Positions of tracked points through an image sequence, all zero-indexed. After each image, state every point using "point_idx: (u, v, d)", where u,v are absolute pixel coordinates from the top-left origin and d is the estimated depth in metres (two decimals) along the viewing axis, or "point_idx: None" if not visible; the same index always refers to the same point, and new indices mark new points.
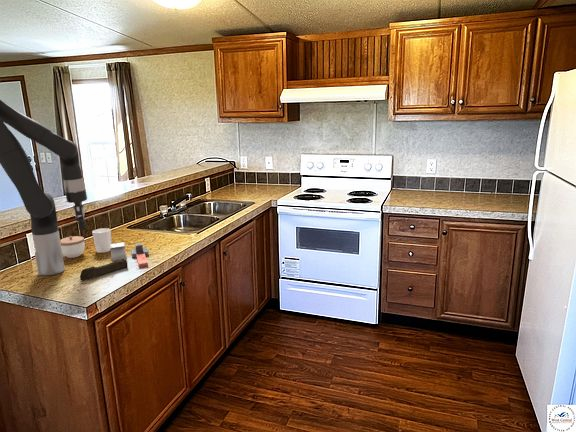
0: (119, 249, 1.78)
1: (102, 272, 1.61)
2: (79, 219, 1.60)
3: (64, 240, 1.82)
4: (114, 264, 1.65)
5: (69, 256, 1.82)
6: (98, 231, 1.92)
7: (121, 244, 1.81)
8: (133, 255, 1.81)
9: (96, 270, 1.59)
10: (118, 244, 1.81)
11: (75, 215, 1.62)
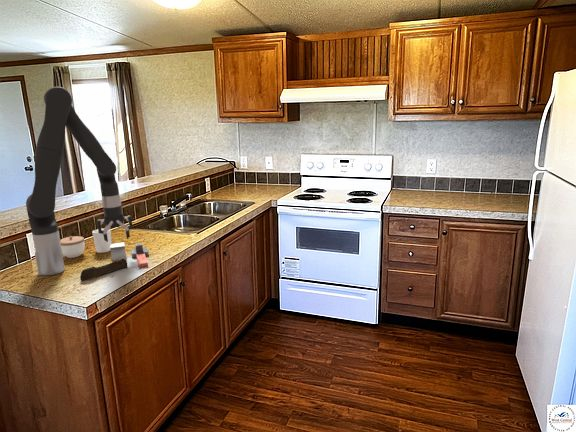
0: (119, 249, 1.78)
1: (102, 272, 1.61)
2: None
3: (64, 240, 1.82)
4: (114, 264, 1.65)
5: (69, 256, 1.82)
6: None
7: (121, 244, 1.81)
8: (133, 255, 1.81)
9: (96, 271, 1.59)
10: (118, 244, 1.81)
11: (125, 225, 1.78)
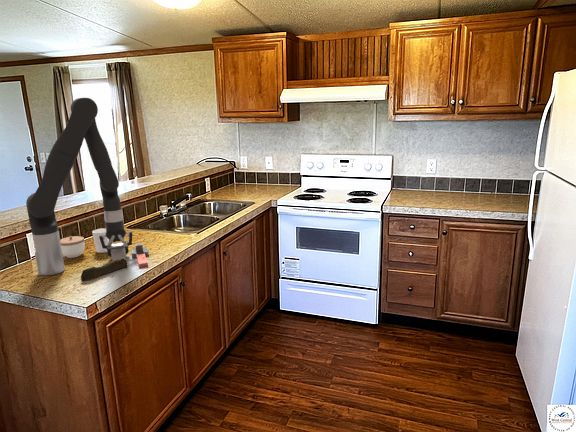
0: (119, 249, 1.78)
1: (103, 272, 1.61)
2: None
3: (64, 240, 1.82)
4: (114, 264, 1.65)
5: (69, 256, 1.82)
6: (98, 231, 1.92)
7: (121, 244, 1.81)
8: (133, 255, 1.81)
9: (97, 271, 1.59)
10: (118, 244, 1.81)
11: (125, 241, 1.80)
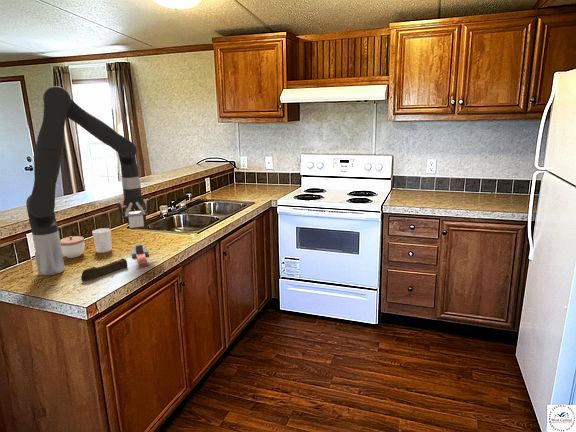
0: (137, 216, 1.78)
1: (103, 272, 1.61)
2: (148, 210, 1.82)
3: (64, 240, 1.82)
4: (114, 264, 1.65)
5: (69, 256, 1.82)
6: (98, 231, 1.92)
7: (138, 212, 1.81)
8: (133, 255, 1.81)
9: (97, 271, 1.59)
10: (135, 212, 1.81)
11: (142, 209, 1.80)
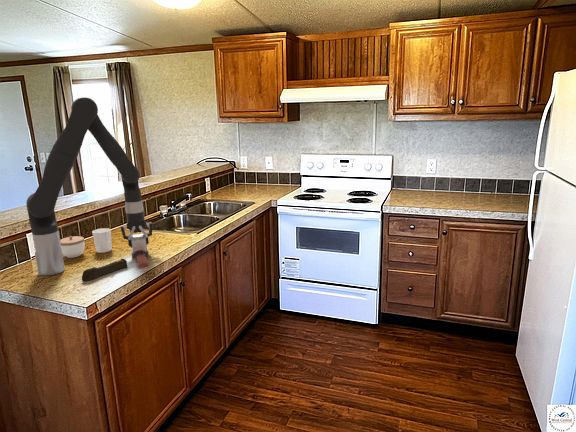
0: (140, 240, 1.81)
1: (103, 272, 1.61)
2: None
3: (64, 240, 1.82)
4: (114, 264, 1.65)
5: (69, 256, 1.82)
6: (98, 231, 1.92)
7: (141, 235, 1.84)
8: (133, 255, 1.81)
9: (97, 271, 1.59)
10: (138, 235, 1.84)
11: (145, 232, 1.83)
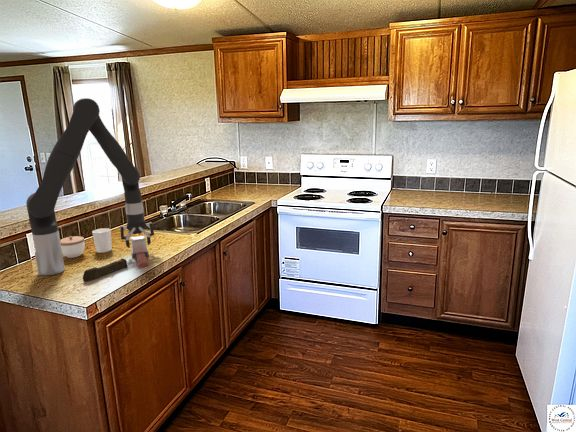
0: (140, 242, 1.81)
1: (104, 272, 1.61)
2: (153, 233, 1.85)
3: (64, 240, 1.82)
4: (115, 264, 1.65)
5: (69, 256, 1.82)
6: (98, 231, 1.92)
7: (142, 237, 1.84)
8: (133, 255, 1.81)
9: (98, 271, 1.59)
10: (139, 237, 1.84)
11: (146, 232, 1.83)
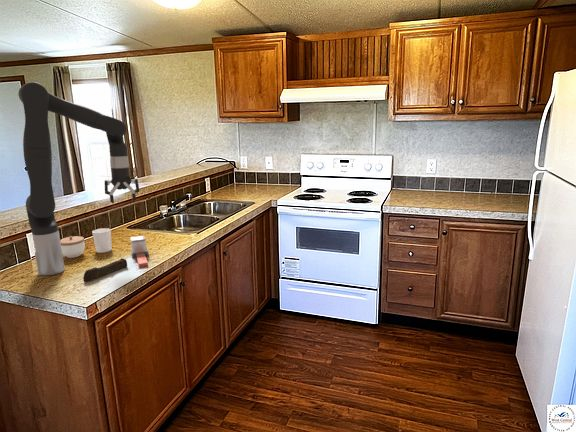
0: (140, 242, 1.81)
1: (104, 272, 1.61)
2: (138, 190, 1.81)
3: (64, 240, 1.82)
4: (115, 264, 1.65)
5: (69, 256, 1.82)
6: (98, 231, 1.92)
7: (141, 237, 1.84)
8: (133, 255, 1.81)
9: (99, 271, 1.59)
10: (138, 237, 1.84)
11: (131, 188, 1.78)
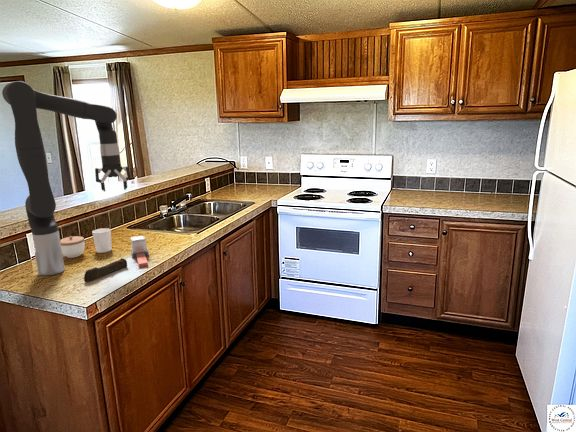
0: (140, 242, 1.81)
1: (104, 272, 1.61)
2: None
3: (64, 240, 1.82)
4: (115, 264, 1.65)
5: (69, 256, 1.82)
6: (98, 231, 1.92)
7: (141, 237, 1.84)
8: (133, 255, 1.81)
9: (99, 271, 1.59)
10: (138, 237, 1.84)
11: (122, 175, 1.78)
